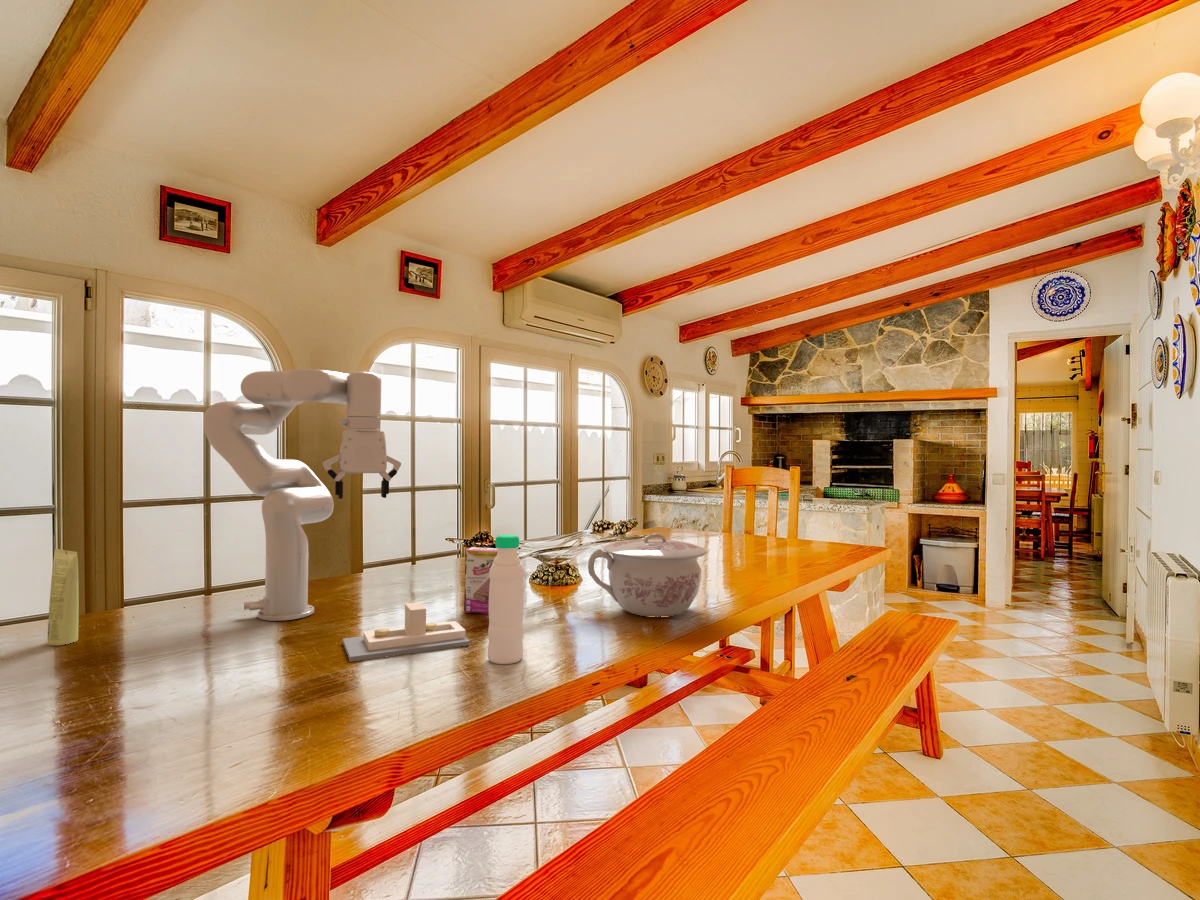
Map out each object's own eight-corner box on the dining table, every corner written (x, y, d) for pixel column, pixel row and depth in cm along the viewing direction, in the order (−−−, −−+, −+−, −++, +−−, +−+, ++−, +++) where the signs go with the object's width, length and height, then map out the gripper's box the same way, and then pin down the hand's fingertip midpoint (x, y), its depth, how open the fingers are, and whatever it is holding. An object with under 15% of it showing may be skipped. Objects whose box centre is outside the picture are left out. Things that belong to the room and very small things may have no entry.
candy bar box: (463, 613, 159) (464, 549, 159) (469, 608, 164) (470, 546, 164) (506, 615, 158) (507, 551, 158) (510, 610, 163) (511, 548, 163)
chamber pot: (721, 608, 169) (723, 532, 169) (678, 632, 146) (680, 544, 146) (632, 593, 184) (633, 524, 184) (580, 613, 161) (581, 534, 161)
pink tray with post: (369, 650, 127) (369, 615, 127) (363, 639, 134) (363, 606, 134) (465, 637, 136) (466, 605, 136) (455, 627, 143) (456, 597, 143)
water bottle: (528, 656, 128) (530, 534, 128) (512, 667, 121) (515, 539, 121) (498, 651, 130) (500, 532, 130) (481, 662, 123) (483, 536, 123)
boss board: (350, 662, 122) (350, 643, 122) (342, 643, 134) (342, 626, 134) (469, 645, 134) (469, 628, 134) (453, 629, 145) (453, 614, 145)
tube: (86, 637, 134) (87, 547, 134) (75, 645, 129) (77, 551, 129) (53, 640, 132) (55, 548, 132) (41, 647, 127) (43, 552, 127)
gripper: (324, 423, 139) (323, 500, 139) (404, 426, 147) (403, 498, 147) (322, 424, 145) (320, 497, 145) (398, 426, 154) (397, 495, 154)
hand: (362, 497), depth 146 cm, fingers open, 9 cm apart
